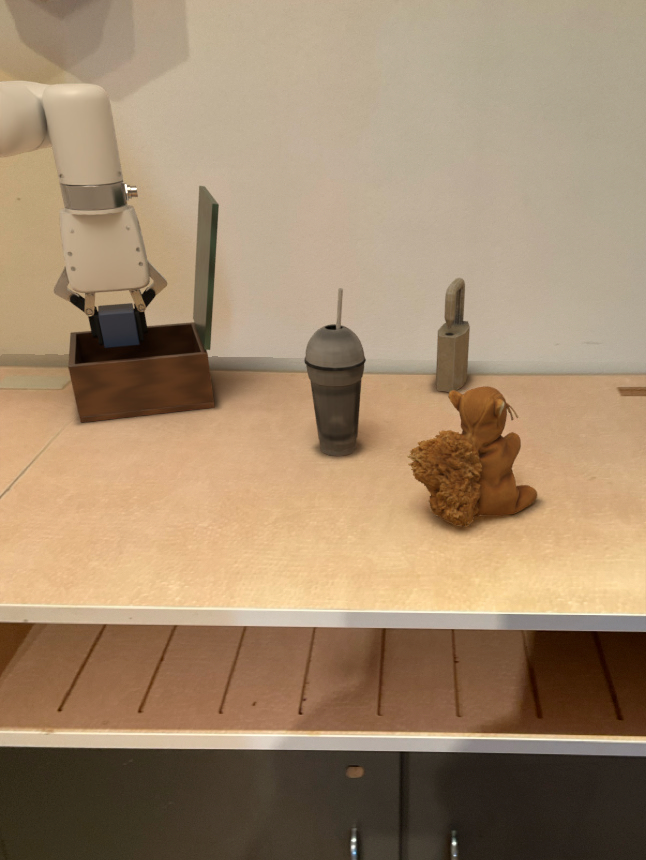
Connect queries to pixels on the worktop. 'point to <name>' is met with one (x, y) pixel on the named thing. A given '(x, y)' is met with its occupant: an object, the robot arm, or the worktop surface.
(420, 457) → the stuffed squirrel
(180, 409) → the chest
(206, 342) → the lid
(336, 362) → the beverage cup
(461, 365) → the padlock
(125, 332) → the block
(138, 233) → the robot arm
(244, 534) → the worktop surface
